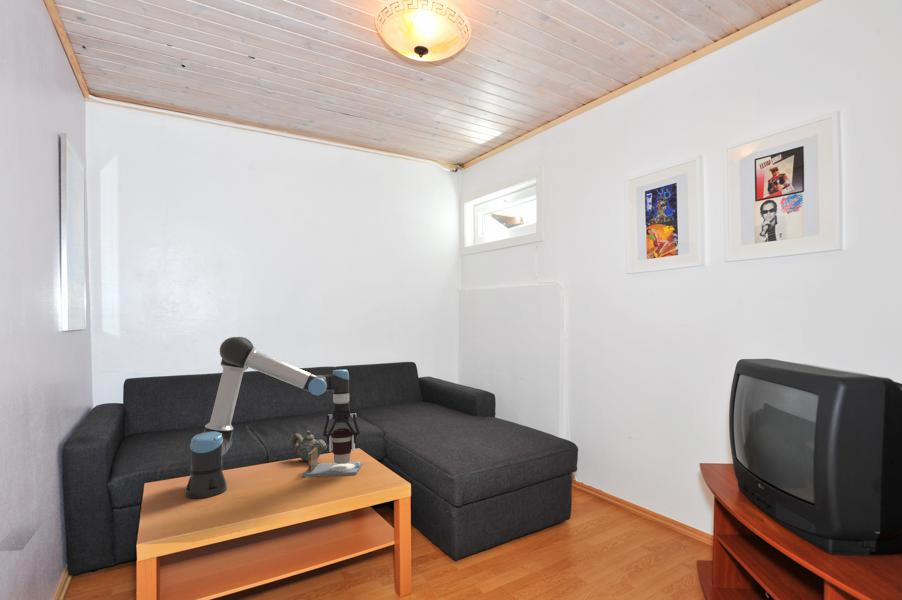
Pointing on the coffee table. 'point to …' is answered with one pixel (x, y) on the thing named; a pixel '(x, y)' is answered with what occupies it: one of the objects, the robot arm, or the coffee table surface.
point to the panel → (312, 459)
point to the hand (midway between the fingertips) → (342, 450)
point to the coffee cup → (341, 445)
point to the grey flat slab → (334, 469)
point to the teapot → (307, 445)
